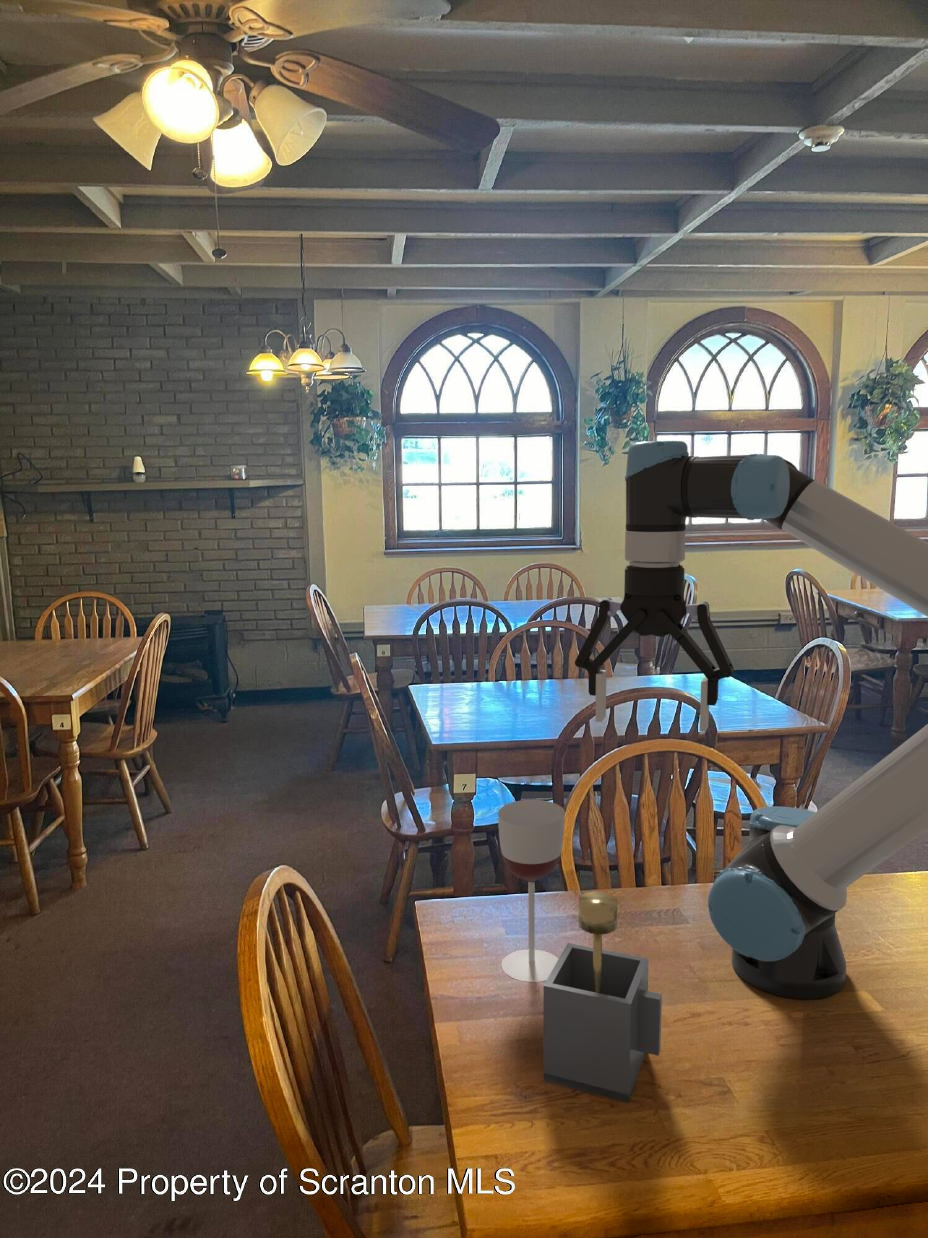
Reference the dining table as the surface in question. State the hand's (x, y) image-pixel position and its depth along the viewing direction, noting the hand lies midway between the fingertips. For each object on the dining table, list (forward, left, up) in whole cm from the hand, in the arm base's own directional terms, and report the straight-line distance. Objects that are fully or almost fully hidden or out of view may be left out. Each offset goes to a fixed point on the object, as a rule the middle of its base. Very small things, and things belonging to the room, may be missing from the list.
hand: (651, 724), depth 117 cm
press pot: (+1, +20, -37) cm, 42 cm away
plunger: (+2, +20, -35) cm, 40 cm away
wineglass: (+16, +2, -37) cm, 40 cm away
